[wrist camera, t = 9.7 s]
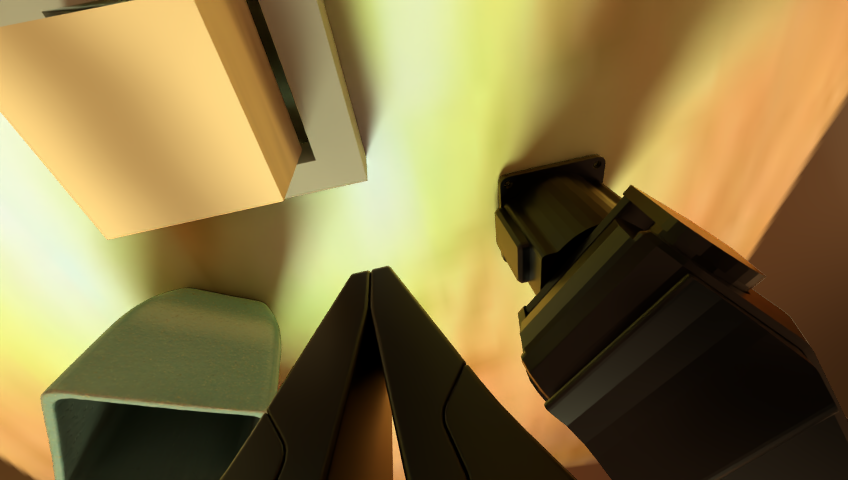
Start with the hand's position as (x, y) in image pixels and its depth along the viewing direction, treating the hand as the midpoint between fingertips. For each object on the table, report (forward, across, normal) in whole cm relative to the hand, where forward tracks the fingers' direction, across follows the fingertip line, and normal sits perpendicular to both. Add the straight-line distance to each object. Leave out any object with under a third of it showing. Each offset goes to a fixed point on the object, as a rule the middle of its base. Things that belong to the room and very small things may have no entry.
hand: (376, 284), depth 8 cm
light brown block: (+10, +6, -3) cm, 12 cm away
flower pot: (+13, +13, +11) cm, 22 cm away
